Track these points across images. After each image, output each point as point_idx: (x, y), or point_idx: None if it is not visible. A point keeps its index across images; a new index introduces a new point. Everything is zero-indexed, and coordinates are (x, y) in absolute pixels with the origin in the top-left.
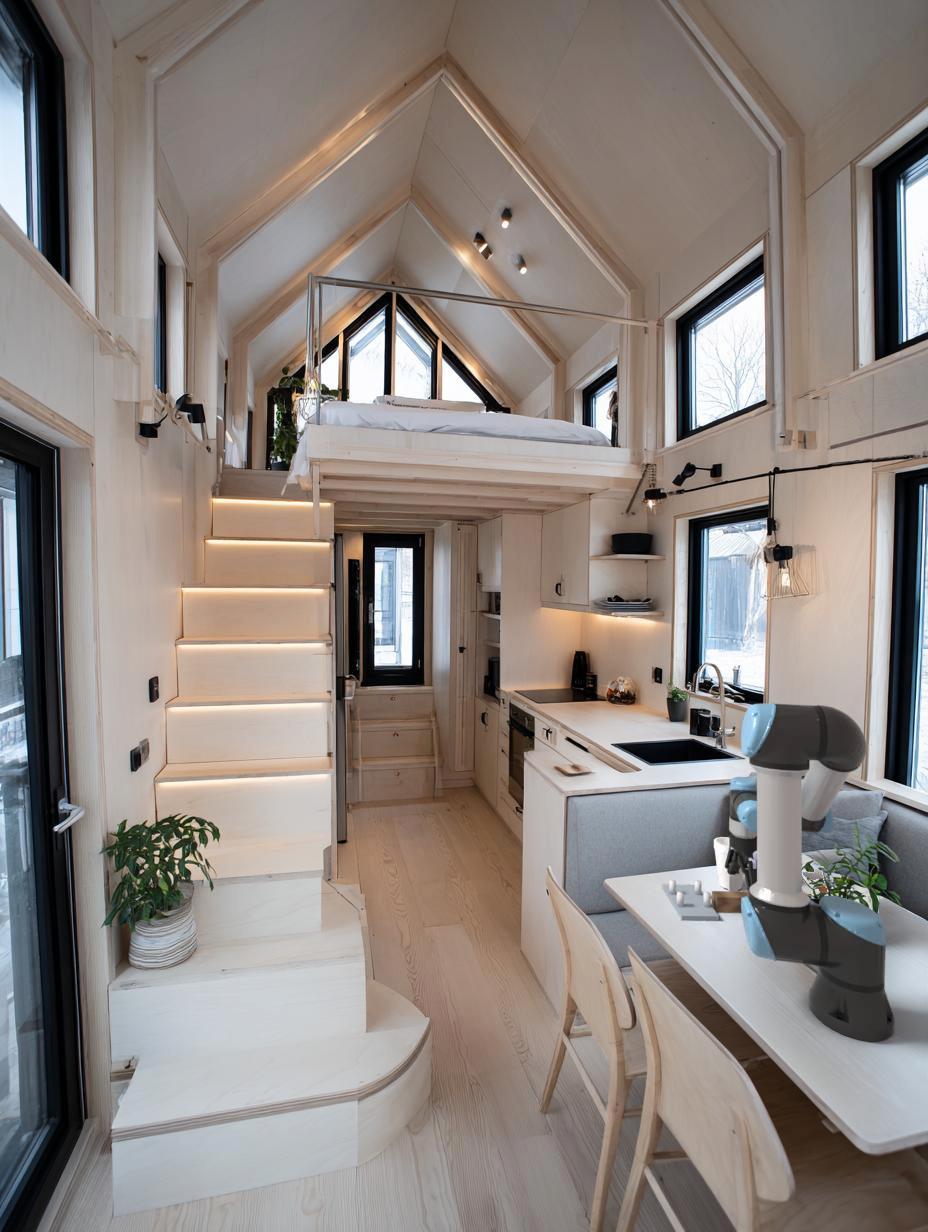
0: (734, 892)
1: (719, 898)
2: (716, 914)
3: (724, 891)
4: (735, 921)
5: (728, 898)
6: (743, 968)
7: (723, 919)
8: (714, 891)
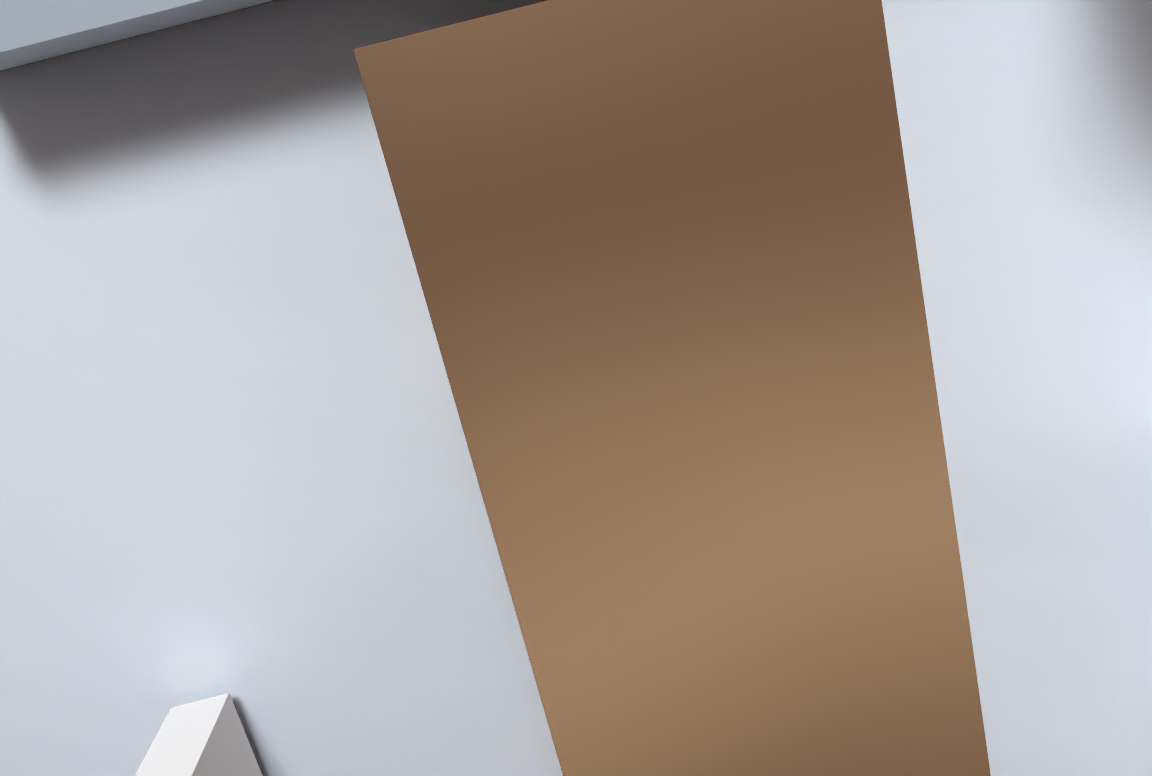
0: (901, 695)
1: (393, 158)
2: (4, 10)
3: (917, 397)
4: (117, 453)
5: (481, 468)
6: None
7: (104, 196)
8: (847, 21)
